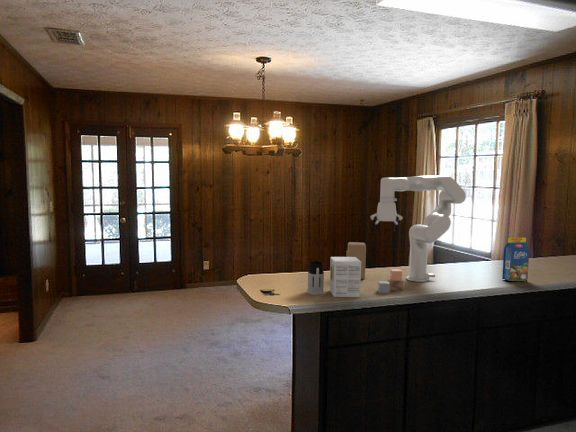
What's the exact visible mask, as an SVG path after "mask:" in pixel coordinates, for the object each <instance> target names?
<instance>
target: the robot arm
mask: <svg viewBox="0 0 576 432" xmlns="http://www.w3.org/2000/svg"><path fill="white" fill-rule="evenodd" d="M406 191H412V192H426V191H428V192H429V191H431V192H432V191H439V194H438V205H437V207H435V208H434V209H433V210H432V211H431V212H430V213H429V214H428V215H426V217H424V220H423V224H414V225H412V226H410V228H409V231H408V237H409V238H408V239H409V245H410V246H409V265H408V266H409V267H408V268H409V270H408V275H407V276H406V277H405V279H406V280H408V281H410V282H417V283H418V282H419V283H425V282H429V281H430V278H436V274H435V273H431V272H430V273H429V272H427V266H428V263H427V262H428V244H432V243H435V242H436V241H438V240H439V239H440V238H441V237H442V236H443V235H444V234H446V232H447V231H448V230H449V229H450V228H451V224H452V220H451V218H450V215H452V204H454V205H455V204H456V205H459V204H464V202H465V200H466V197H467V195H466V192H465V190H464V189H463V187H461V185H460V184H459V183H458V182H457V181H456V180H455V179H454V178H453V177H452V176H451V175H443V174H442V175H439V174H438V175H417V176H416V175H415V176H404V177H401V176H400V177H382V178H381V179H380V193H379V194H380V195H379V202H378V204H377V209H376V213H374V214H372V215H370V220H371V221H372V222H373V224H374V225H375V226H374V227H375V228H374V230H375V231H376V232H378V233H379V223H380V222H393V223H394V225H393V232H394V233H396V232H397V231H398V225H399V224H400V223H401V222H402V220H403V218H404V217H403V216H402V215H400V214H399V213H397V207H396V203H395V202H397V201H398V198H396V197H395V192H406ZM375 217H376V219H375ZM397 217H398V220H397Z"/></svg>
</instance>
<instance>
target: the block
mask: <svg viewBox="0 0 576 432" xmlns="http://www.w3.org/2000/svg"><path fill="white" fill-rule="evenodd" d="M366 255H367V245H366V243H365V242H358V241H357V242H354V241H353V242H352V241H349V242H348V243H347V256H346V257H356V258H357V259H359V260H360V261H361V280H365V279H366V258H367V256H366Z"/></svg>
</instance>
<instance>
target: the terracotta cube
mask: <svg viewBox="0 0 576 432" xmlns="http://www.w3.org/2000/svg"><path fill="white" fill-rule="evenodd" d="M389 278H390V279H391V280H392V281H402V280H403V270H402V269H399V268H398V269H397V268H391V269H390V277H389Z"/></svg>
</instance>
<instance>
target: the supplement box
mask: <svg viewBox="0 0 576 432" xmlns="http://www.w3.org/2000/svg"><path fill="white" fill-rule="evenodd" d="M329 258H330V261H329V262H330V266H329V274H330V275H329V292H330V293H331V295H332V296H333V297H334V298H361V286H362V285H361V281H362V279H361V261H360V260H359V259H357V258H356V257H347V256H330V257H329Z"/></svg>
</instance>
